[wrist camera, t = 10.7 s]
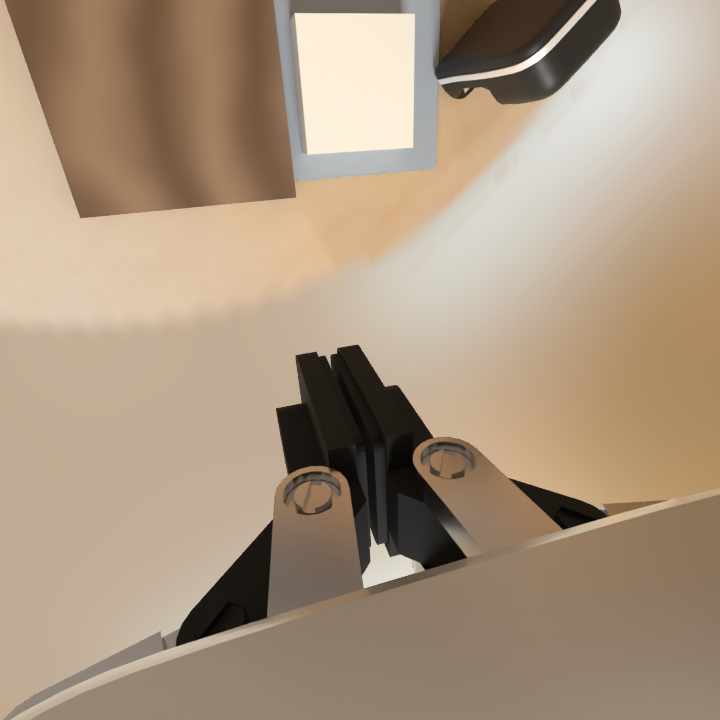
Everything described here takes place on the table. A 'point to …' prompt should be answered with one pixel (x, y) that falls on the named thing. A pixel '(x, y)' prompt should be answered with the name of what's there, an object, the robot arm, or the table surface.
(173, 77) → the board
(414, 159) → the mat
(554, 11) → the battery charger
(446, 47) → the table surface
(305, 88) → the coaster
